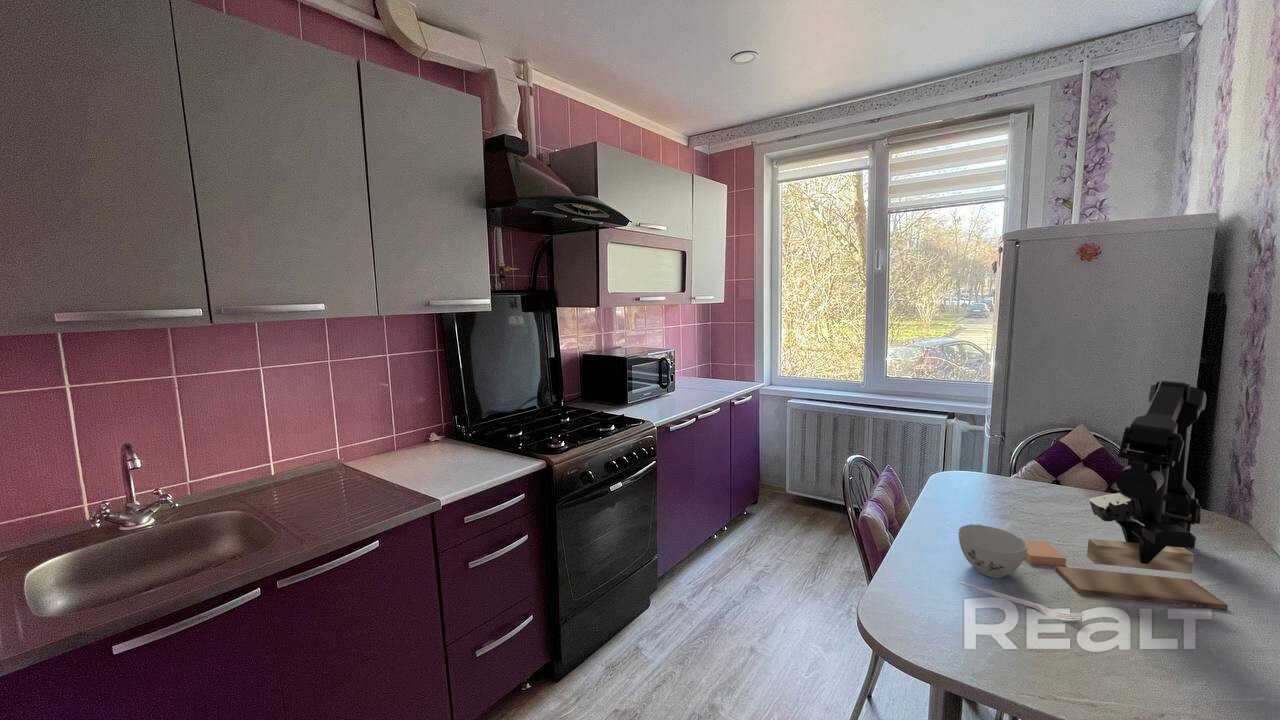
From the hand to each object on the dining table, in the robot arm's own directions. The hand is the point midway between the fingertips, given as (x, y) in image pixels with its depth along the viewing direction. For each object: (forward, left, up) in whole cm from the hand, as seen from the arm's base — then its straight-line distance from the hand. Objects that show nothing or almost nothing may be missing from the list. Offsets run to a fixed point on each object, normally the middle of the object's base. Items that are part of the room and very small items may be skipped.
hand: (1138, 559), depth 105 cm
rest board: (0, 0, -6) cm, 6 cm away
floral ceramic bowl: (+25, -2, -7) cm, 26 cm away
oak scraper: (0, 0, -1) cm, 1 cm away
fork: (+25, +11, -7) cm, 28 cm away
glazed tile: (+9, -11, -6) cm, 15 cm away
